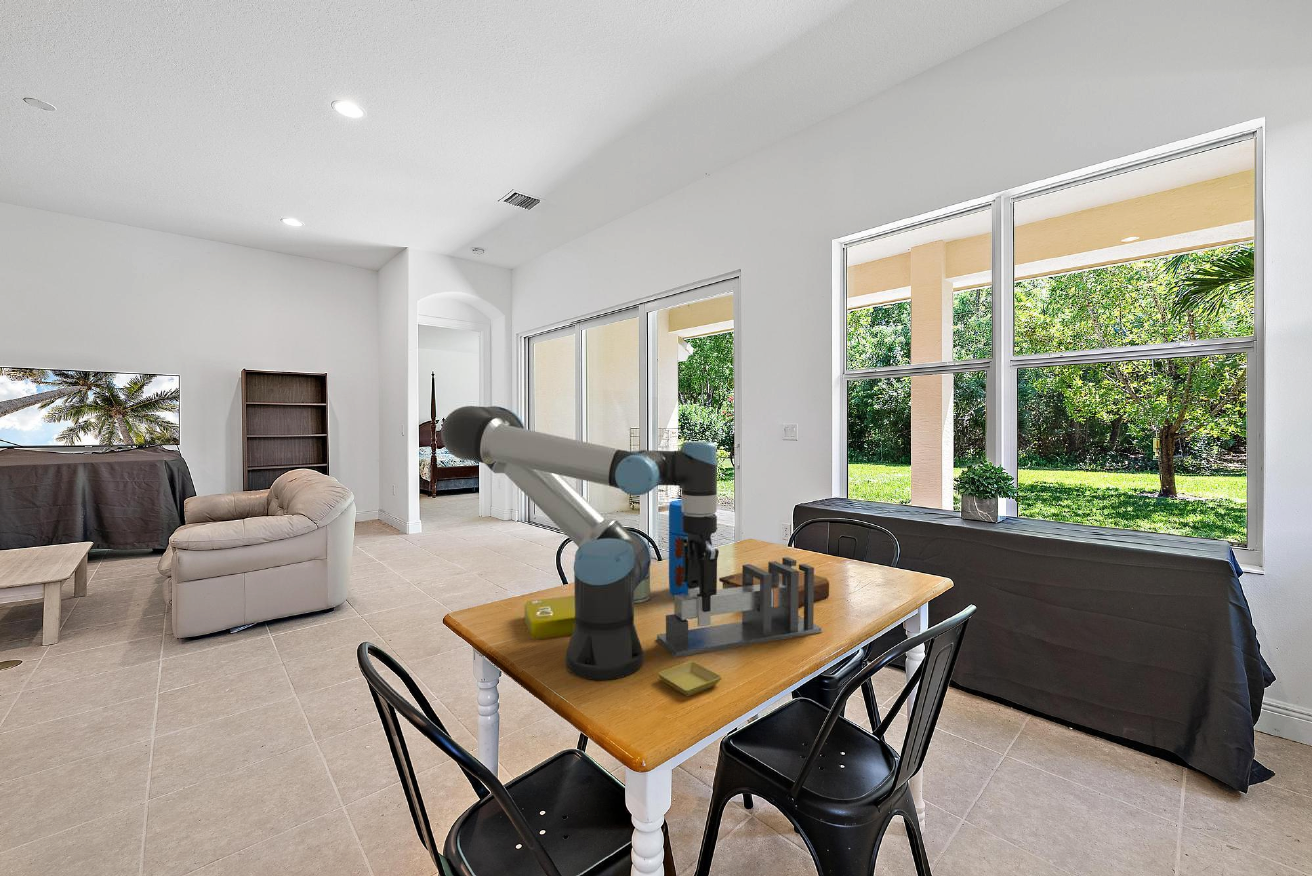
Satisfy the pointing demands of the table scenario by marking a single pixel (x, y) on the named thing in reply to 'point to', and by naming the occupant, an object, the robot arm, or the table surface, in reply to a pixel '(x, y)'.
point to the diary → (819, 583)
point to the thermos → (676, 550)
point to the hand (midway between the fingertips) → (699, 621)
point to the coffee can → (643, 589)
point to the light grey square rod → (728, 600)
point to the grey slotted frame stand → (751, 615)
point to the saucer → (690, 678)
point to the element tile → (550, 617)
